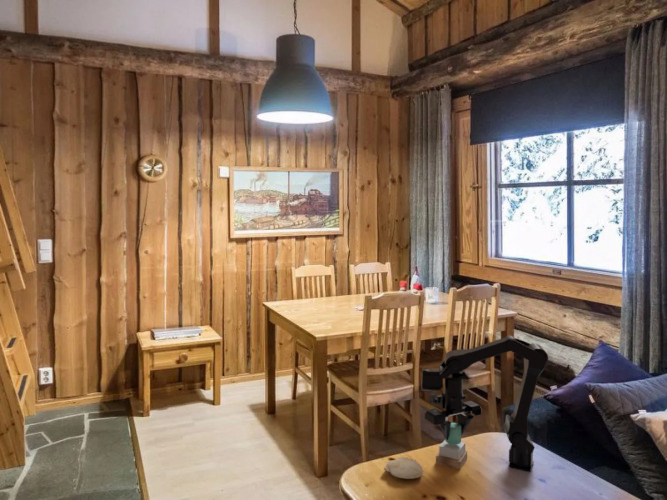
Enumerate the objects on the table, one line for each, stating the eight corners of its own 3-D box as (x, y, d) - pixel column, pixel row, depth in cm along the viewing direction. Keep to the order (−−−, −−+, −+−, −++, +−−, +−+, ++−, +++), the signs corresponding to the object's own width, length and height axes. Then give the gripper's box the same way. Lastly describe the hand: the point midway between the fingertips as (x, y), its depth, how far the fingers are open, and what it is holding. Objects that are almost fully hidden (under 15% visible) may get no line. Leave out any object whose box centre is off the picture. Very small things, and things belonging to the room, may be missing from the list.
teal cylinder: (463, 439, 174) (463, 424, 174) (458, 445, 170) (458, 430, 169) (448, 436, 177) (448, 421, 176) (443, 442, 172) (443, 427, 172)
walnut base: (467, 459, 176) (467, 450, 175) (460, 470, 169) (460, 461, 168) (443, 454, 180) (443, 445, 179) (435, 464, 173) (435, 456, 172)
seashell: (430, 479, 163) (430, 470, 163) (397, 488, 159) (397, 478, 158) (410, 462, 174) (411, 454, 174) (378, 469, 169) (378, 461, 169)
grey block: (465, 451, 175) (465, 442, 175) (458, 460, 170) (458, 451, 169) (446, 446, 178) (446, 438, 178) (439, 454, 173) (439, 446, 173)
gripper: (460, 378, 183) (460, 422, 184) (415, 387, 175) (414, 433, 176) (483, 389, 173) (482, 435, 174) (435, 399, 165) (435, 447, 166)
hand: (453, 437), depth 173 cm, fingers closed on teal cylinder, 5 cm apart
